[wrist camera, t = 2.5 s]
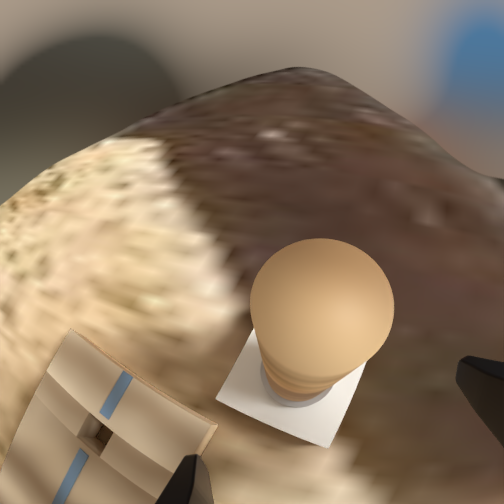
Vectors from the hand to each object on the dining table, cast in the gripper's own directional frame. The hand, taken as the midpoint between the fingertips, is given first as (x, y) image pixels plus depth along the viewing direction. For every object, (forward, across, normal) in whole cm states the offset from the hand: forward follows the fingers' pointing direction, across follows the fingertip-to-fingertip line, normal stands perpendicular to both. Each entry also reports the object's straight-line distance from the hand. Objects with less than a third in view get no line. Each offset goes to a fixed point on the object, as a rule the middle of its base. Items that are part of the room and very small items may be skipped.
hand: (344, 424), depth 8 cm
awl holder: (+10, 0, +5) cm, 11 cm away
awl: (+10, 0, +5) cm, 11 cm away
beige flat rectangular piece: (+6, +17, +9) cm, 20 cm away
